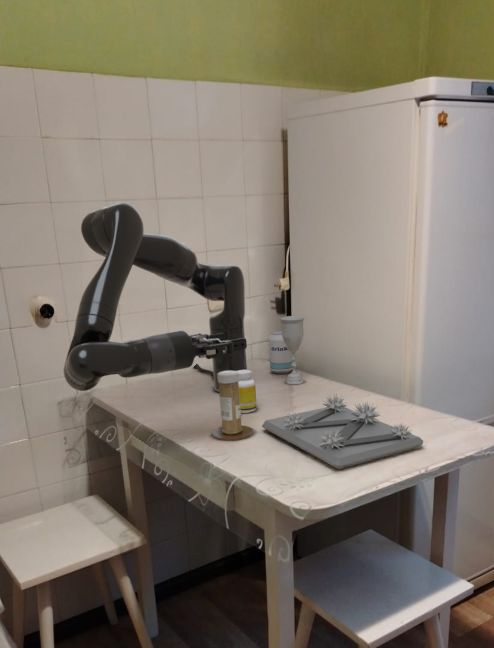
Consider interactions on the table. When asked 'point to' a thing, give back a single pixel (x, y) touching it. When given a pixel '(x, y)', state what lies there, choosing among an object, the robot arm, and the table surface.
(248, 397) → the supplement bottle
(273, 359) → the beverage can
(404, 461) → the table surface
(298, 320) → the chalice
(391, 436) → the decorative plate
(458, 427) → the table surface
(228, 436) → the coaster
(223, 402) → the sprinkles bottle
